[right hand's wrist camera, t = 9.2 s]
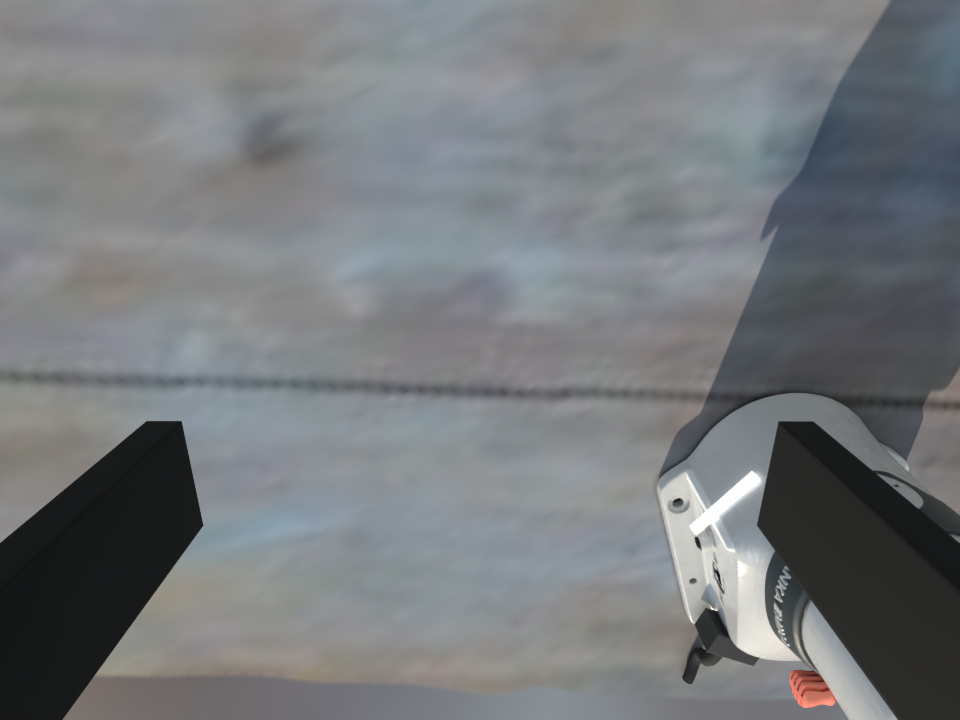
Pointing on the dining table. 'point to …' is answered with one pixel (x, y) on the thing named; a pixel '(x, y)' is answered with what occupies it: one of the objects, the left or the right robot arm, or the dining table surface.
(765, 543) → the left robot arm
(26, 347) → the dining table surface
